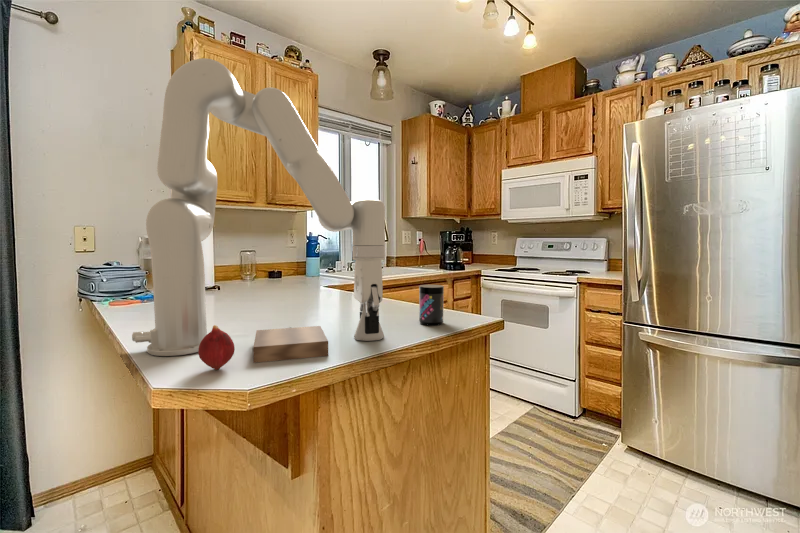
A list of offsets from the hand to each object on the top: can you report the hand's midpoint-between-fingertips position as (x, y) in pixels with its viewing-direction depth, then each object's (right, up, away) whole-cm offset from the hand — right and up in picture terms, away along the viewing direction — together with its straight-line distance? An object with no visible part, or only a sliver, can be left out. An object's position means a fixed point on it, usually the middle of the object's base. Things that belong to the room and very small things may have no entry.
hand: (369, 329), depth 91 cm
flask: (0, -2, 0) cm, 2 cm away
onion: (-26, -4, -22) cm, 34 cm away
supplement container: (+16, -1, +16) cm, 22 cm away
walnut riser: (-16, -3, -9) cm, 19 cm away
